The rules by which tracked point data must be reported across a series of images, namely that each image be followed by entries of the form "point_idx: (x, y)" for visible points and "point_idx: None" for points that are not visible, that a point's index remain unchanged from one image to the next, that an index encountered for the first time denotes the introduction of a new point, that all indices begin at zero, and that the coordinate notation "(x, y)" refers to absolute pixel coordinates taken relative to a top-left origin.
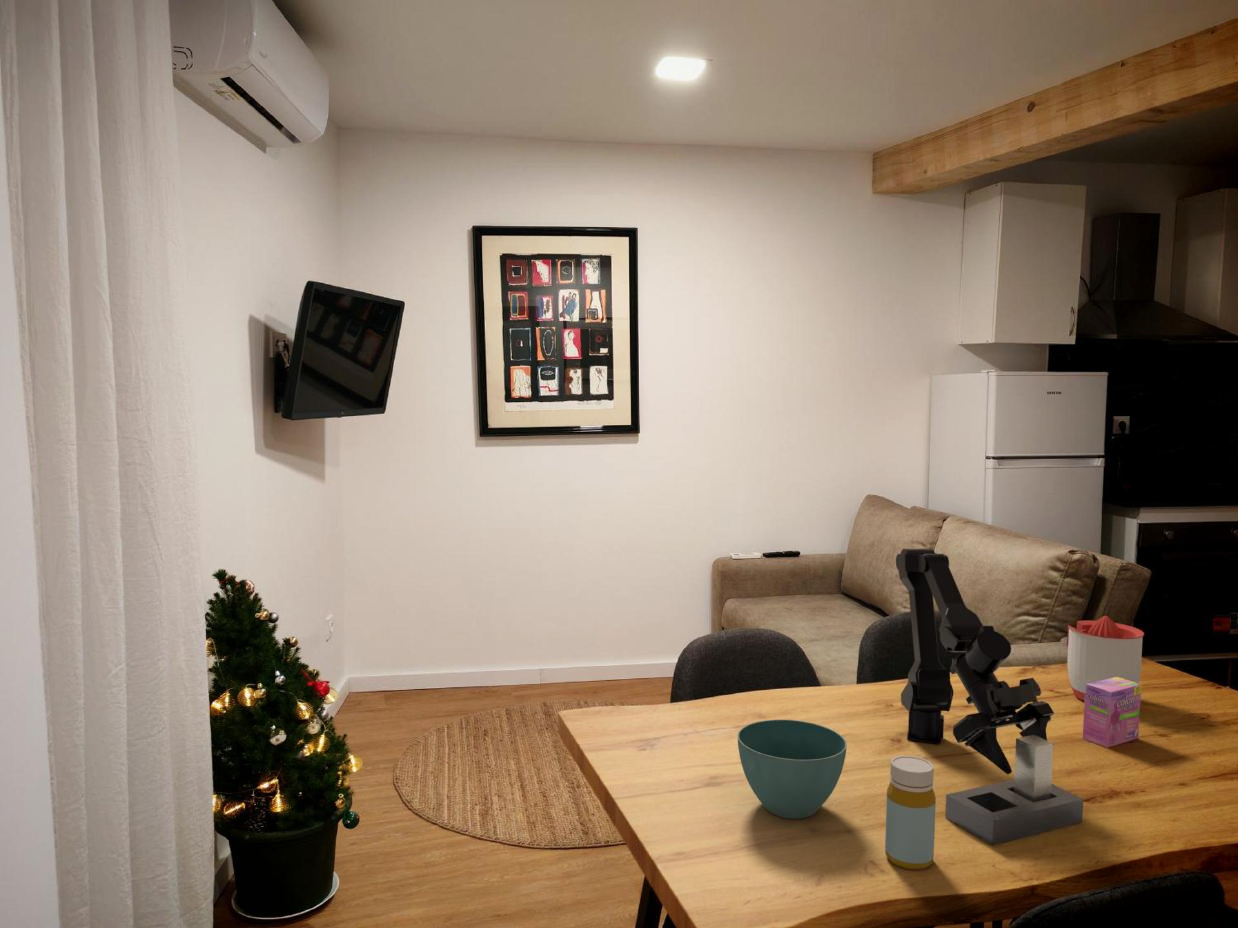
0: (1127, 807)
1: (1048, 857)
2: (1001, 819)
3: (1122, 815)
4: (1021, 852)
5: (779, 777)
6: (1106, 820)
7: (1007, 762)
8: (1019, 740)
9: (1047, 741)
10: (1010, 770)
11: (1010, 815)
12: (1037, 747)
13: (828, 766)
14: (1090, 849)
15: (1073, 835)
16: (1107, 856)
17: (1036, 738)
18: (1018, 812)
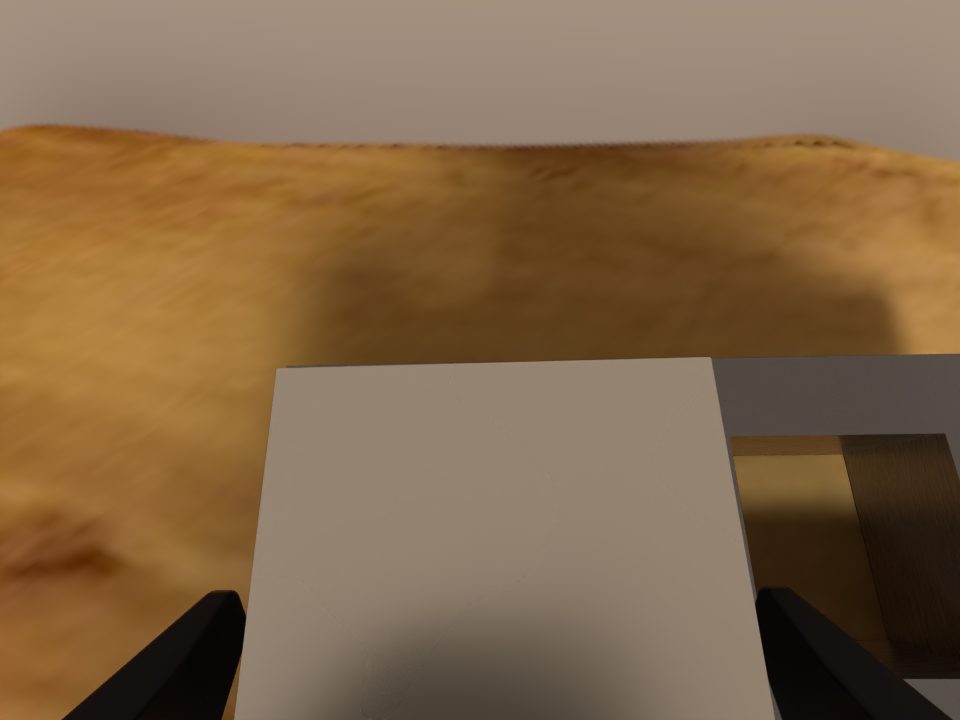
0: (8, 424)
1: (713, 248)
2: (935, 354)
3: (112, 379)
4: (795, 308)
5: None
6: (220, 372)
7: (838, 661)
8: None
9: (291, 470)
10: (786, 592)
11: (853, 369)
12: (663, 365)
13: None
14: (507, 235)
15: (473, 331)
16: (492, 184)
17: (345, 693)
18: (782, 379)
